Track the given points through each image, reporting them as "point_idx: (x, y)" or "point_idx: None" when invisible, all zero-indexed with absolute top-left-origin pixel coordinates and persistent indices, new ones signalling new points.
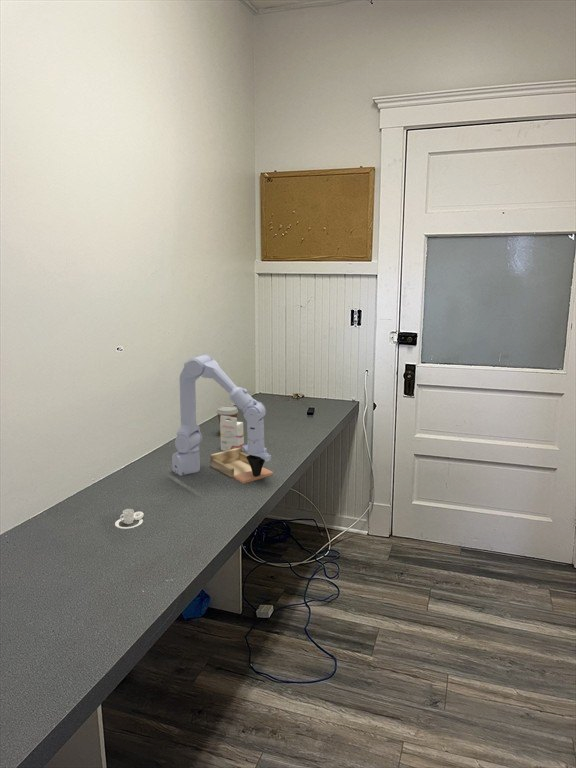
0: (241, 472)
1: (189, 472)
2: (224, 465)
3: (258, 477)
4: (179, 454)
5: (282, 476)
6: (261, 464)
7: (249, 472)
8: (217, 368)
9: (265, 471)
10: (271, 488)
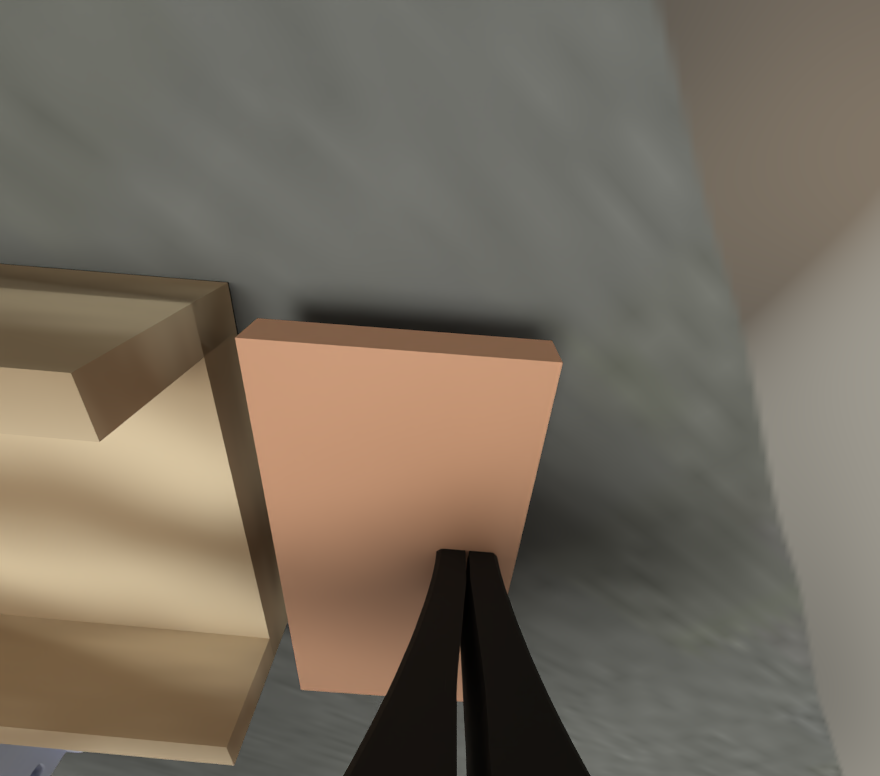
0: (194, 552)
1: (20, 751)
2: (74, 748)
3: (509, 574)
4: None
5: (597, 125)
6: (551, 768)
7: (316, 578)
8: None
9: (432, 431)
10: (722, 514)
